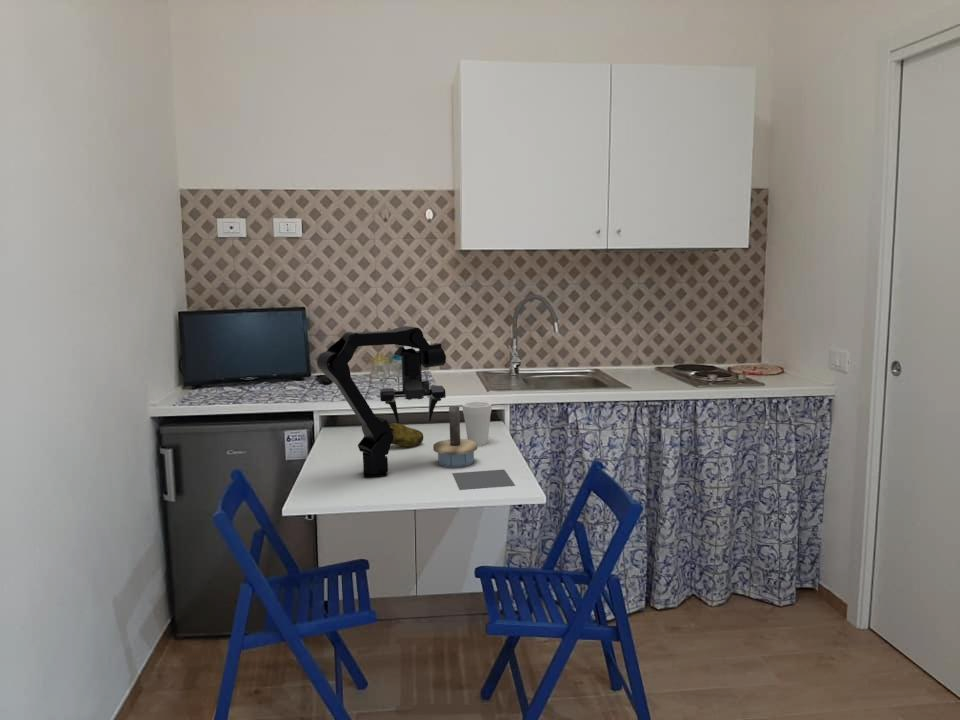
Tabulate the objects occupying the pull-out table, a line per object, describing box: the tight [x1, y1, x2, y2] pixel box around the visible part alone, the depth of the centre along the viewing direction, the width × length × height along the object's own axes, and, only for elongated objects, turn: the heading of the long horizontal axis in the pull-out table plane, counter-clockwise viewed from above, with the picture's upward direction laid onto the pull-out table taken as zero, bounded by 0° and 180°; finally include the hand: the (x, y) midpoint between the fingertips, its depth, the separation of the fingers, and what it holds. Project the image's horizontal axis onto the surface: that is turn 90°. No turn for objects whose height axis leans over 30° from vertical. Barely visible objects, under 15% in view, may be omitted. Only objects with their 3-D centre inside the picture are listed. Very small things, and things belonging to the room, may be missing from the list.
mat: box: [451, 469, 516, 491], centre depth 201 cm, size 15×15×1 cm
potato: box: [388, 422, 424, 448], centre depth 238 cm, size 8×13×8 cm, turn 98°
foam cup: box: [462, 400, 492, 447], centre depth 239 cm, size 10×9×13 cm
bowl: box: [437, 451, 475, 468], centre depth 218 cm, size 10×10×4 cm
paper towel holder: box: [432, 405, 478, 455], centre depth 216 cm, size 13×13×12 cm
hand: (413, 422), depth 215 cm, fingers open, 9 cm apart
